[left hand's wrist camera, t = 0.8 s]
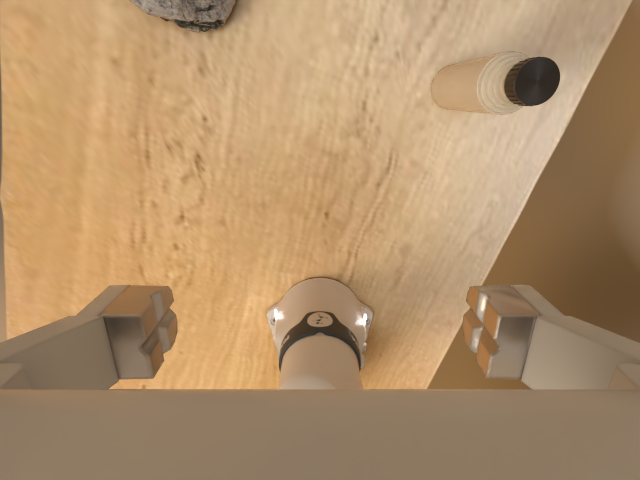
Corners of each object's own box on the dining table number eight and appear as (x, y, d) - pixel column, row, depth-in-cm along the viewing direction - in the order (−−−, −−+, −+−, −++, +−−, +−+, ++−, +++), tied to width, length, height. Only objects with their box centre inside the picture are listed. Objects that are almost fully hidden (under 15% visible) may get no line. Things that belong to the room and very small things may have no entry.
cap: (508, 58, 33) (519, 55, 31) (552, 59, 33) (566, 56, 31) (499, 105, 34) (509, 105, 33) (541, 106, 34) (554, 106, 33)
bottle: (434, 64, 51) (508, 43, 31) (476, 65, 51) (577, 44, 31) (428, 109, 54) (494, 116, 33) (468, 110, 54) (559, 118, 33)
